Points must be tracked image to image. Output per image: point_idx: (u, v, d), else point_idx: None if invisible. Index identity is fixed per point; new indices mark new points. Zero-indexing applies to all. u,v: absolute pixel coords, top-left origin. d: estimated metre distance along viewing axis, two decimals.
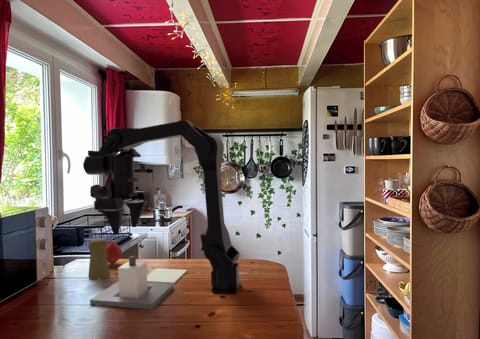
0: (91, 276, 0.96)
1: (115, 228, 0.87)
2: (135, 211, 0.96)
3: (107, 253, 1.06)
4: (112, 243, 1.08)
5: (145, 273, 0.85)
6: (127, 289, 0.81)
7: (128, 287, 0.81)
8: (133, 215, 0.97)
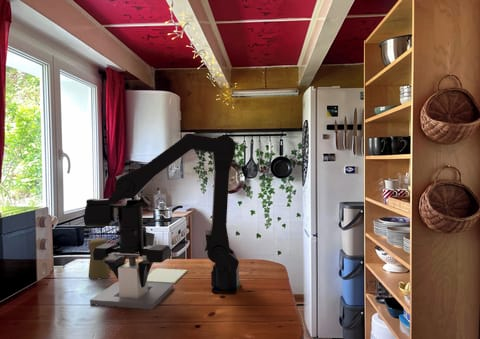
0: (91, 276, 0.96)
1: None
2: None
3: None
4: (112, 243, 1.08)
5: None
6: (127, 289, 0.81)
7: (128, 287, 0.81)
8: None
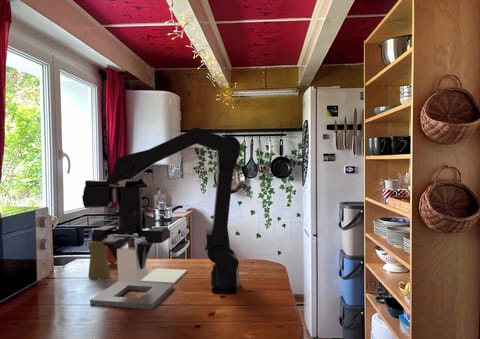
0: (91, 276, 0.96)
1: None
2: None
3: (107, 253, 1.06)
4: None
5: None
6: (126, 270, 0.81)
7: (127, 268, 0.81)
8: None
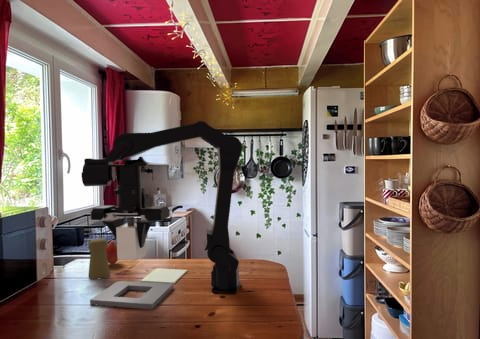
0: (91, 276, 0.96)
1: None
2: None
3: (107, 253, 1.06)
4: (112, 243, 1.08)
5: None
6: (126, 249, 0.81)
7: (126, 247, 0.81)
8: None
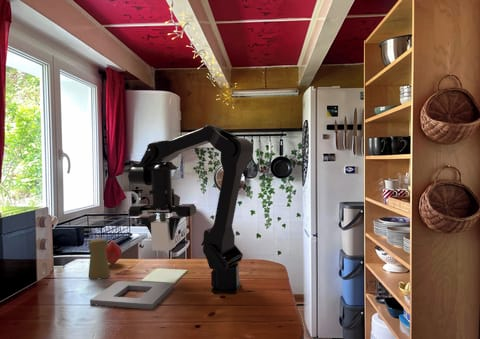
0: (91, 276, 0.96)
1: None
2: None
3: (107, 253, 1.06)
4: (112, 243, 1.08)
5: None
6: (159, 241, 0.94)
7: (159, 239, 0.94)
8: None
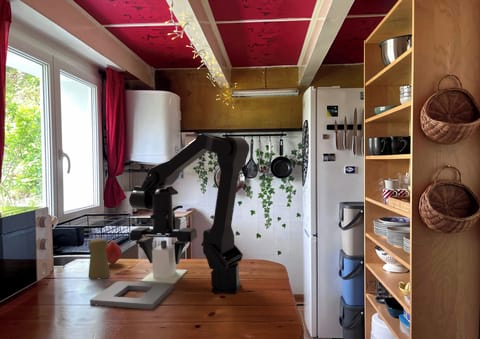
0: (91, 276, 0.96)
1: None
2: None
3: (107, 253, 1.06)
4: (112, 243, 1.08)
5: (174, 255, 0.98)
6: (160, 268, 0.94)
7: (160, 267, 0.94)
8: None
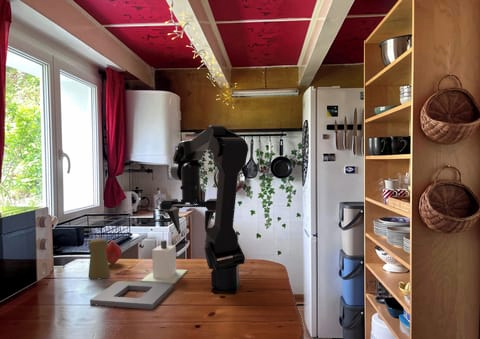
0: (91, 276, 0.96)
1: None
2: None
3: (107, 253, 1.06)
4: (112, 243, 1.08)
5: (174, 255, 0.98)
6: (160, 268, 0.94)
7: (160, 267, 0.94)
8: None
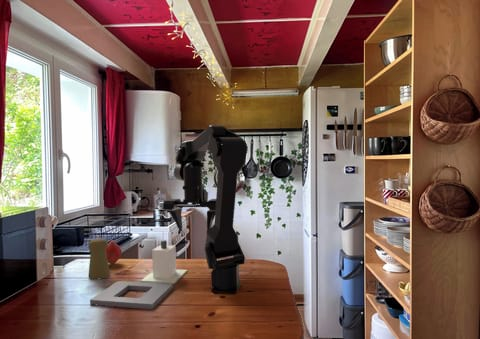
0: (91, 276, 0.96)
1: None
2: None
3: (107, 253, 1.06)
4: (112, 243, 1.08)
5: (174, 255, 0.98)
6: (160, 268, 0.94)
7: (160, 267, 0.94)
8: None
